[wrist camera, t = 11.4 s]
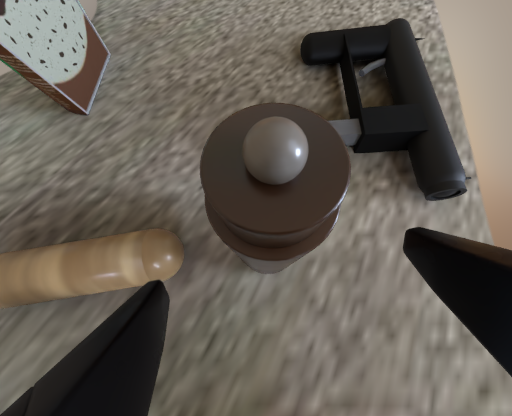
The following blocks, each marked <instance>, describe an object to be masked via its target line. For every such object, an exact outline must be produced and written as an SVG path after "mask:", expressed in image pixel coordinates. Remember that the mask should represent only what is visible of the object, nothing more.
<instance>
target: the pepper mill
mask: <svg viewBox="0 0 512 416" xmlns="http://www.w3.org/2000/svg"><path fill="white" fill-rule="evenodd" d="M350 177H351V164H350V157H349V154H348V150H347V147H346V145H345V143H344V141H343V139H342V138H341V136H340V134H339V133H338V132H337V131H336V129H335V128H334V127H333V126H332V125H331V124H330V123H329V122H328V121H326V120H325V119H324V118H322V117H321V116H319V115H318V114H316V113H314V112H312V111H310V110H308V109H306V108H303V107H300V106H296V105H291V104H285V103H265V104H258V105H254V106H250V107H247V108H244V109H242V110H240V111H238V112H236V113H234V114H232V115H231V116H229V117H228V118H227V119H225V120H224V121H223V122H222V123H220V124H219V125H218V126H217V127H216V129H215V130H214V131H213V132H212V134H211V135H210V137H209V138H208V140H207V142H206V144H205V147H204V149H203V152H202V156H201V162H200V178H201V184H202V187H203V190H204V193H205V207H206V213H207V216H208V219H209V221H210V223H211V225H212V227H213V229H214V231H215V232H216V233H217V235H218V236H219V237H220V238H221V239H222V241H223V242H224V243H225V244H226V245H227V246H228V247H229V248H230V249H232V250H233V251H234V252H235V253H236V254H237V255H238V256H239V257H240V258H241V259H242V260H243V261H244V262H245V263H246V264H247V265H248V266H249V267H250V268H252V269H253V270H255V271H257V272H260V273H264V274H272V273H277V272H280V271H282V270H283V269H285V268H287V267H288V266H289V265H291V264H292V263H294V262H295V261H297V260H298V259H300V258H301V257H303V256H304V255H306V254H307V253H309V252H310V251H312V250H313V249H315V248H316V247H317V246H319V245H320V244H321V243H322V242H323V241H324V240H325V239H326V238H327V237H328V235H329V234H330V232H331V231H332V229H333V227H334V226H335V224H336V221H337V219H338V216H339V212H340V206H341V203H342V201H343V199H344V197H345V195H346V193H347V190H348V187H349V183H350Z"/></svg>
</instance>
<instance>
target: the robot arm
mask: <svg viewBox="0 0 512 416" xmlns="http://www.w3.org/2000/svg"><path fill="white" fill-rule="evenodd" d="M403 251H404V253H405V255H406V256H407V257H408V259H409V260H410V261H411V263H412V264H413V265H414V267H415V268H416V269H417V271H418V272H419V273H420V275H421V276H422V277H423V278H424V280H425V281H426V282H427V284H428V285H429V286H430V287H431V289H432V290H433V291H434V292H435V293H436V295H437V296H438V297H439V298H440V299H441V300H442V301H443V302H444V303H445V304H446V306H447V307H448V308H449V309H450V310H451V311H452V312H453V313H454V314H455V315H456V317H457V318H458V319H459V320H460V321H461V322H462V323H463V324H464V325H465V326H466V327H467V329H468V330H469V331H470V332H471V333H472V334H473V335H474V336H475V337H476V338H477V339H478V341H479V342H480V343H481V344H482V345H483V346H484V347H485V348H486V349H487V350H488V352H489V353H490V354H491V355H492V356H493V357H494V358H495V359H496V360H497V361H498V362H499V364H500V365H501V366H502V367H503V368H504V369H505V370H506V371H507V372H508V373H509V374H510V376H511V377H512V250H508V249H504V248H501V247H497V246H493V245H489V244H485V243H481V242H477V241H473V240H469V239H465V238H461V237H457V236H453V235H449V234H445V233H441V232H437V231H433V230H429V229H425V228H421V227H416V228H411V229H408V230H407V231H406V232H405V238H404V244H403ZM169 303H170V299H169V295H168V293H167V291H166V288H165V286H164V284H163V282H162V281H161V280H159V279H158V280H153V281H149V282H147V283H146V284H145V285H144V286H142V287H141V288H140V289H139V290H138V291H137V292H136V293H135V294H134V295H133V296H131V297H130V298H129V299H128V300H127V301H126V302H125V303H124V304H123V305H121V306H120V307H119V308H118V309H117V310H116V311H115V312H114V313H113V314H112V315H110V316H109V317H108V318H107V319H106V320H105V321H104V322H103V323H102V324H100V325H99V326H98V327H97V328H96V329H95V330H94V331H93V332H92V333H91V334H89V335H88V336H87V337H86V338H85V339H84V340H83V341H82V342H81V343H79V344H78V345H77V346H76V347H75V348H74V349H73V350H72V351H71V352H70V353H68V354H67V355H66V356H65V357H64V358H63V359H62V360H61V361H60V362H58V363H57V364H56V365H55V366H54V367H53V368H52V369H51V370H50V371H48V372H47V373H46V374H45V375H44V376H43V377H42V378H41V379H40V380H39V381H37V382H36V383H35V385H34V387H31V388H30V389H28V390H27V391H26V392H25V393H24V394H23V395H22V396H21V397H20V398H19V399H18V400H16V401H15V402H14V403H13V404H12V405H11V406H10V407H9V408H7V409H6V410H5V411H4V412H3V413H2V414H1V415H0V416H148V411H149V407H150V403H151V399H152V394H153V390H154V386H155V382H156V377H157V373H158V369H159V365H160V360H161V356H162V352H163V347H164V341H165V333H166V326H167V318H168V310H169Z"/></svg>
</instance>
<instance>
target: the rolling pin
mask: <svg viewBox="0 0 512 416" xmlns="http://www.w3.org/2000/svg"><path fill="white" fill-rule="evenodd" d="M183 260H184V247H183V244H182V242H181V240H180V239H179V238H178V237H177V236H176V235H175V234H174V233H172V232H171V231H168V230H165V229H160V228H157V229H148V230H142V231H135V232H129V233H123V234H117V235H111V236H105V237H98V238H92V239H86V240H80V241H74V242H67V243H61V244H55V245H49V246H43V247H37V248H30V249H24V250H18V251H12V252H6V253H1V254H0V309H4V308H10V307H16V306H22V305H28V304H34V303H40V302H46V301H52V300H58V299H64V298H70V297H76V296H82V295H88V294H94V293H100V292H106V291H112V290H118V289H124V288H130V287H136V286H143V285H145V284H146V283H147V282H149V281H153V280H158V279H159V280H161V281H162V282H163V281H165V280H167V279H169V278H171V277H172V276H173V275H175V274H176V273H177V271H178V270H179V269H180V267H181V265H182V263H183Z"/></svg>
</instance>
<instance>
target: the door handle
mask: <svg viewBox="0 0 512 416" xmlns="http://www.w3.org/2000/svg"><path fill="white" fill-rule="evenodd" d="M421 39H425V38H414V35H413V32H412V30H411V27H410V24H409V23H408V21H407V20H405V19H402V18H398V19H394V20H392V21H390V22H389V23H387V24H386V25H379V26H370V27H361V28H352V29H343V30H334V31H325V32H316V33H310V34H308V35H306V36H305V37H304V39H303V41H302V43H301V49H300V52H301V57H302V59H303V61H304V62H305V63H306V64H307V65H320V64H330V63H340V68H341V74H342V79H343V84H344V89H345V95H346V100H347V105H348V110H349V116H350V119H345V120H332V121H328V122H329V123H330V124H331V125H332V126H333V127H334V128H335V129H336V131H337V132H338V133H339V134H340V136H341V138H342V139H343V141H344V143H345V145H353V148H354V153H369V152H385V151H402V150H408V152H409V156H410V159H411V163H412V167H413V170H414V174H415V177H416V181H417V184H418V187H419V188H420V190H421V191H422V192H423V193H424V195H425V199H426V200H430V201H436V200H444V199H449V198H453V197H456V196H459V195H462V194H464V193H465V192H466V191H467V189H466V186H465V183H464V182H465V180H467V179H471V177H466V176H465V172H464V169H463V166H462V164H461V161H460V158H459V156H458V153H457V150H456V148H455V145H454V142H453V140H452V137H451V134H450V132H449V129H448V126H447V124H446V121H445V118H444V115H443V113H442V110H441V107H440V105H439V102H438V99H437V97H436V94H435V91H434V89H433V86H432V83H431V81H430V78H429V75H428V73H427V70H426V67H425V64H424V62H423V59H422V56H421V54H420V51H419V48H418V46H417V43H416V40H421ZM381 58H382V59H381ZM371 59H380V60H377V61H374V62H372V63H370V64H368V65H367V66H365V67H364V68H362V69H361V70H360V71H359V75H360V76H361V77H362V76H364V75H365V74H366V73H368V72H369V71H371V70H373V69H375V68H377V67H379V66H383V65H384V68H385V72H386V75H387V79H388V82H389V86H390V89H391V93H392V96H393V100H394V103H395V105H393V106H380V107H368V108H362V103H361V99H360V94H359V90H358V85H357V81H356V76H355V71H354V67H353V62H352V61H360V60H371Z"/></svg>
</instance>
